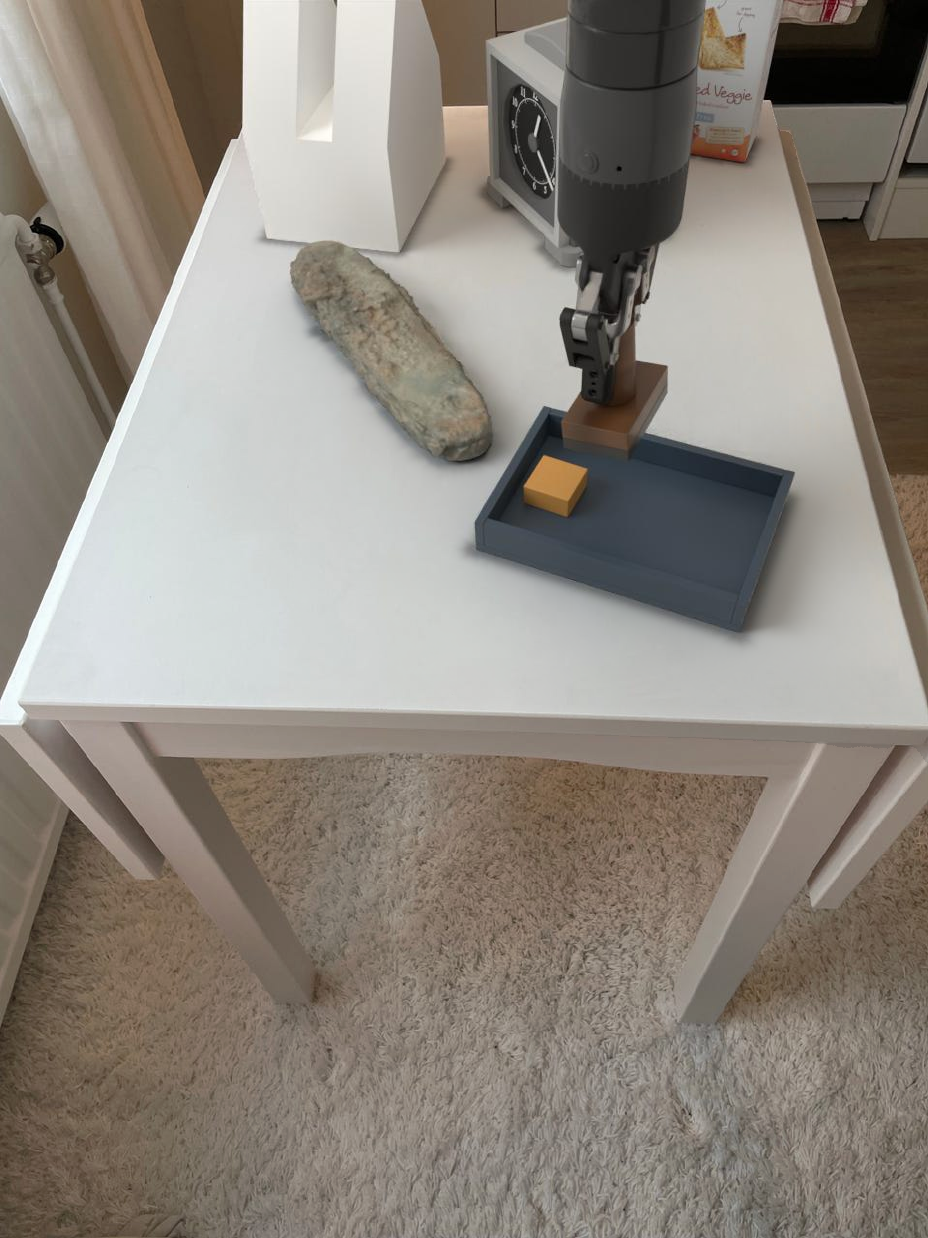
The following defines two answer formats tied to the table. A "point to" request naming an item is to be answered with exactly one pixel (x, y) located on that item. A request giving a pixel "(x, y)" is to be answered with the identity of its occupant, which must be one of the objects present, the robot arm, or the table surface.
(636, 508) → the tray
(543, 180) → the alarm clock
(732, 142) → the cracker box
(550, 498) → the orange squat block
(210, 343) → the table surface
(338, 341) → the elongated rock
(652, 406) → the rubber stamp
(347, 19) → the white slotted tapered block
